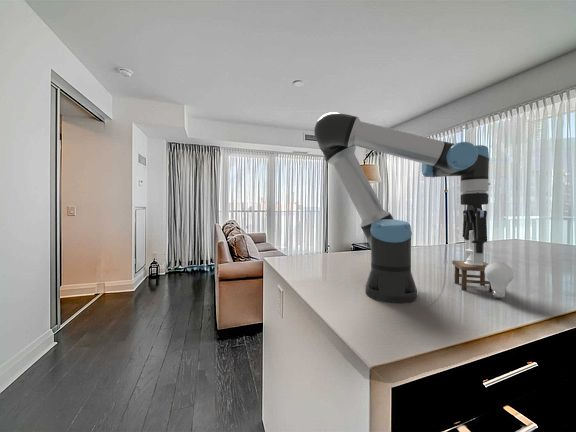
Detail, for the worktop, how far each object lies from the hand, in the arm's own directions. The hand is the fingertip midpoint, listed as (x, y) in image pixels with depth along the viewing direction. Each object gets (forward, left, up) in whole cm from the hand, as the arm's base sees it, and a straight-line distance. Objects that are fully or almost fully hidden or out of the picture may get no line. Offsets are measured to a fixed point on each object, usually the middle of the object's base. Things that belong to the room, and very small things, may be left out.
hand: (473, 260), depth 84 cm
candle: (0, 0, -1) cm, 1 cm away
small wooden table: (0, 0, -9) cm, 9 cm away
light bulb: (+3, -10, -9) cm, 14 cm away
